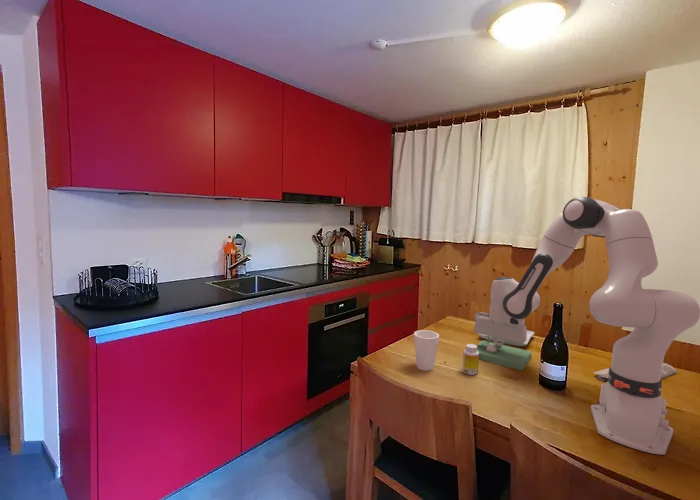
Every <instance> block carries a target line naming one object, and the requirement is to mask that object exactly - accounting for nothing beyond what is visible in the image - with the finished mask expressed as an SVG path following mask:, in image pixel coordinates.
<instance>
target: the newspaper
mask: <svg viewBox="0 0 700 500" xmlns="http://www.w3.org/2000/svg"><path fill="white" fill-rule="evenodd" d="M609 368H610V367H608V368H604V369H600V370H597V371H593V372H592V373H593V374H595V375H597V376H596V379H597V380H598V381H602V382H605V381H606V382H607V381H608V372H609ZM677 373H678V371H677V370H676V369H675V367H673V366H672V365H671V364H668V363H665V362H663V365H662V371H661V378H660V379H661V380H663V379H665V378H667V377H671V376H672V375H675V374H677Z"/></svg>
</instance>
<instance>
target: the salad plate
mask: <svg viewBox="0 0 700 500" xmlns="http://www.w3.org/2000/svg"><path fill="white" fill-rule="evenodd" d="M534 335H535V332H534V331H531V330H527V340H526V342H524V343H518V342H513V341H509V340H506V341H505V343H504V344H503V345H507V346H513V347H526V346H527V345H528V343H529V342H530V341H531V338H532V337H533V336H534ZM478 336H479V337H480V338H482V339H483V340H484V339H485V340H486V341H487V340H488V336H487V335H483V334H478ZM496 340H497V343H502V342H503V341H501V339H500V338H497V339H496ZM489 342H493V340H492V337H491V336H490V339H489Z"/></svg>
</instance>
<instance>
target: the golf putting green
mask: <svg viewBox="0 0 700 500" xmlns="http://www.w3.org/2000/svg"><path fill="white" fill-rule="evenodd" d="M475 345H476V346H477V351H478V352H479V361H480V360H481V361H485V362H488V363H493V364H496V365H500V366H503V367H507V368H511V369H515V370H518V371H523V370H524V369H525V367H526V366H527V364H528V363H529V361H530V360H531V358H532V351H530V350H526V349H521V348H517V347H514V346H513V347H512V346H510V345H506V344H503V348H502V349H499V348H496V349H497V352H490V351H486V348H487V346H488V345H494V346H495V343H494V342H493V341H489V343H487V340H484V339H483V340H481V341H480V342H479V343H477V344H475Z"/></svg>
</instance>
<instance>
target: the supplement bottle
mask: <svg viewBox="0 0 700 500" xmlns="http://www.w3.org/2000/svg"><path fill="white" fill-rule="evenodd" d="M476 345H477V344H473V343H467V344H465V349H464V350H463V352H462V355H463V356H462V372H463V373H465V374H467V375H470V376H475V375H477V374H479V363H480V359H479V352H478V351H477V346H476Z"/></svg>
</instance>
